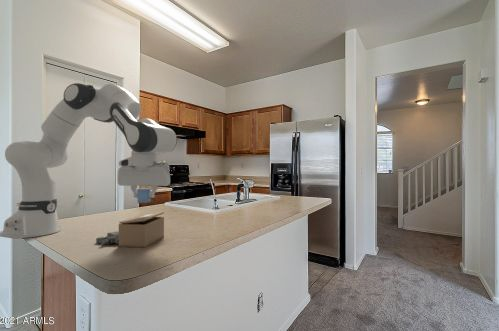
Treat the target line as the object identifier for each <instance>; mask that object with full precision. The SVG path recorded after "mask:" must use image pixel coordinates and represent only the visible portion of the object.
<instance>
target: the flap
mask: <svg viewBox="0 0 499 331" xmlns="http://www.w3.org/2000/svg"><path fill="white" fill-rule="evenodd" d="M163 214H165V212H164V211H160V212H158V211H157V212H150V213H142V214H139V215H136V216H133V217H130V218H129V217H128V218H126V219H123V220H121V221H119V223H118V224H120V223H130V222H140V221H146V220H148V219H151V218H154V217H160V216H161V215H163Z"/></svg>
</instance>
